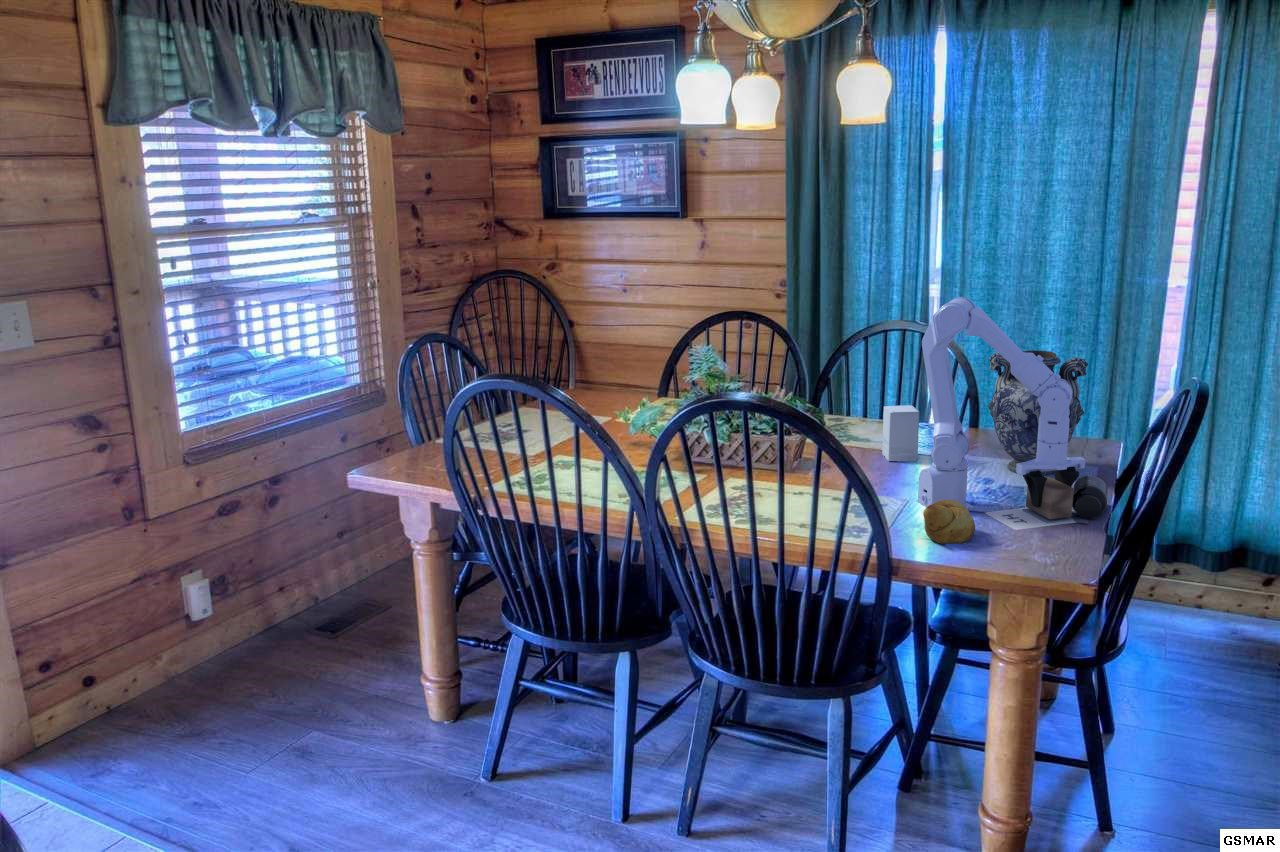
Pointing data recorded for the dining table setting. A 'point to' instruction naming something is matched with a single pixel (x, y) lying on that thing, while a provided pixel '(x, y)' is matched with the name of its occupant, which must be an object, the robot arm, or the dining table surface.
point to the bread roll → (948, 522)
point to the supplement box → (900, 433)
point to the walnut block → (1053, 500)
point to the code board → (1020, 519)
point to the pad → (1045, 517)
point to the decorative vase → (1028, 406)
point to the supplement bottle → (1090, 496)
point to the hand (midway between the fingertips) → (1048, 504)
